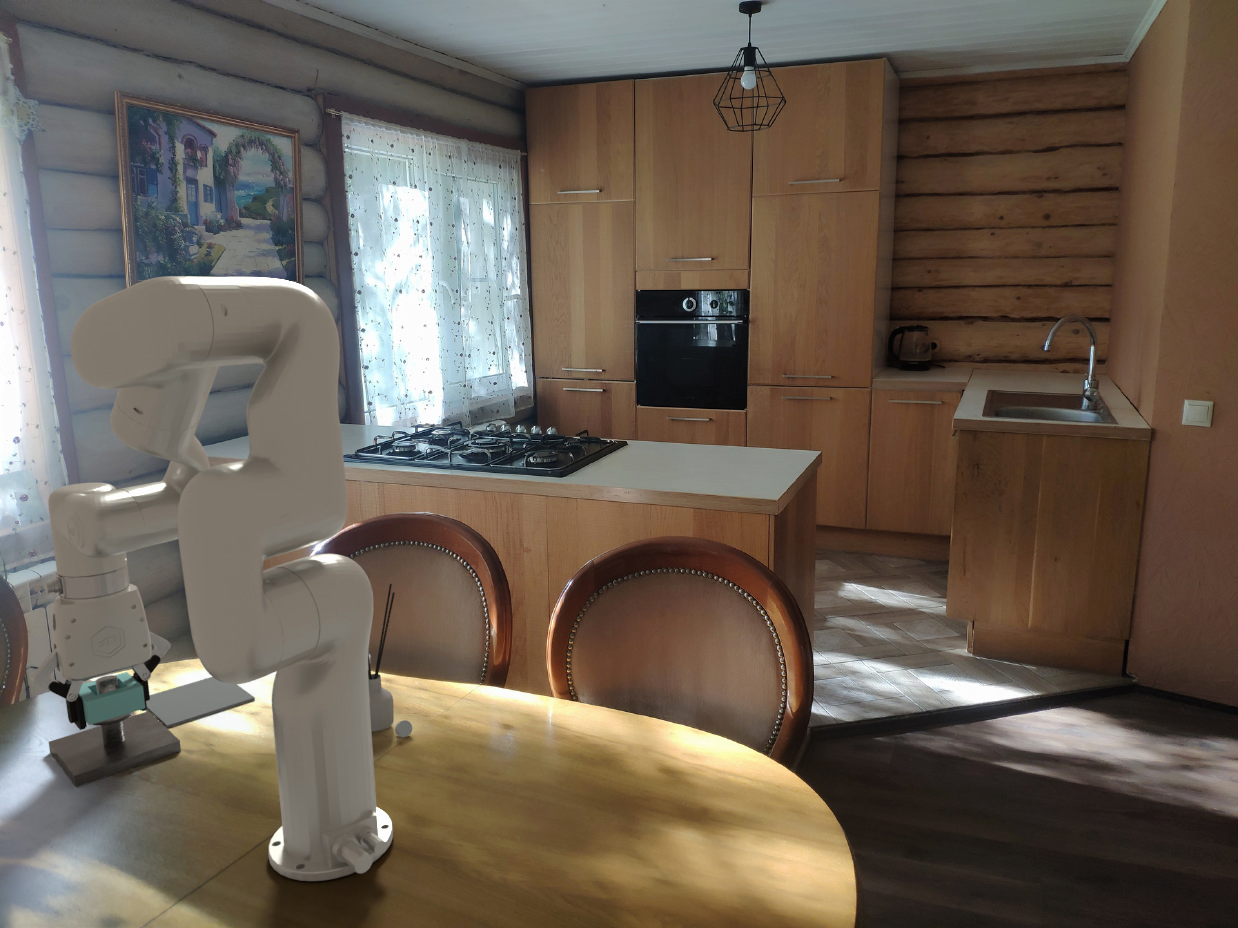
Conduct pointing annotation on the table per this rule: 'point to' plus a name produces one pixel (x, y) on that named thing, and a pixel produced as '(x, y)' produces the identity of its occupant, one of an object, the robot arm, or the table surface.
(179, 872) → the table surface
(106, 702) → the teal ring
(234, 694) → the slate mat
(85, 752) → the ring stand
